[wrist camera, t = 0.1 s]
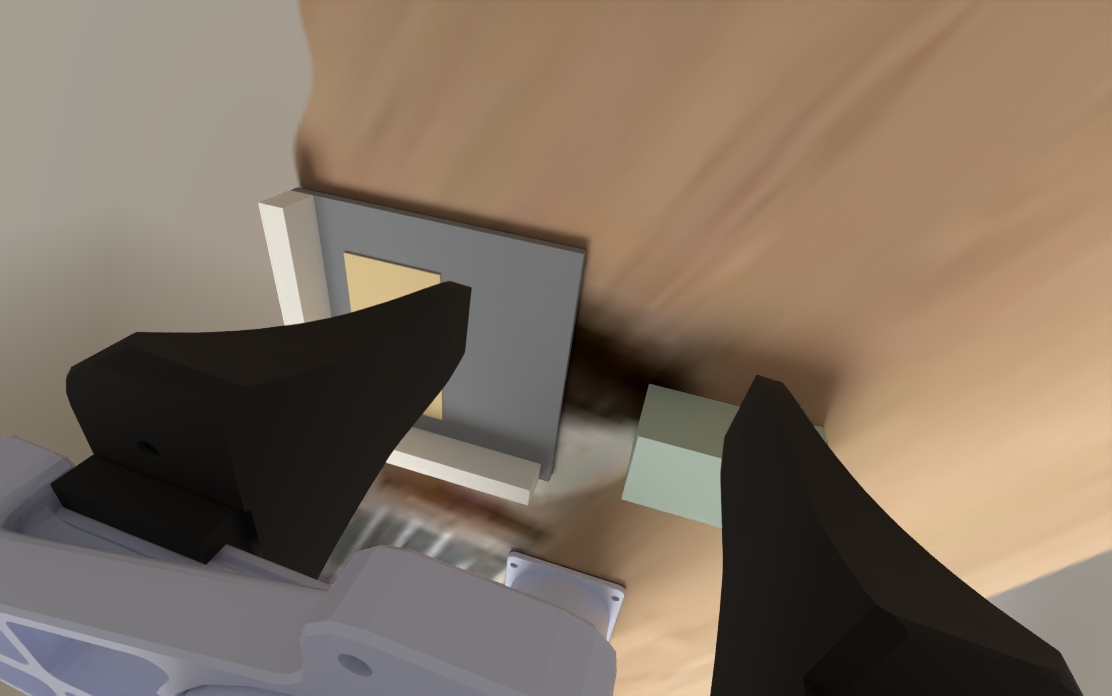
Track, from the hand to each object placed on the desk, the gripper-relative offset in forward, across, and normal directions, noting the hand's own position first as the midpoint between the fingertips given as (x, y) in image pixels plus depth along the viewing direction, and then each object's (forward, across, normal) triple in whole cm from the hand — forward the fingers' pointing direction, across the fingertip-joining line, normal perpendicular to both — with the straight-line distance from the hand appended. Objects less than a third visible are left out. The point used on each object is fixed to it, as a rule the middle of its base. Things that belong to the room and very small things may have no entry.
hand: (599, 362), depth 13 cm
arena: (+10, +9, +9) cm, 16 cm away
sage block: (+10, -6, +9) cm, 15 cm away
